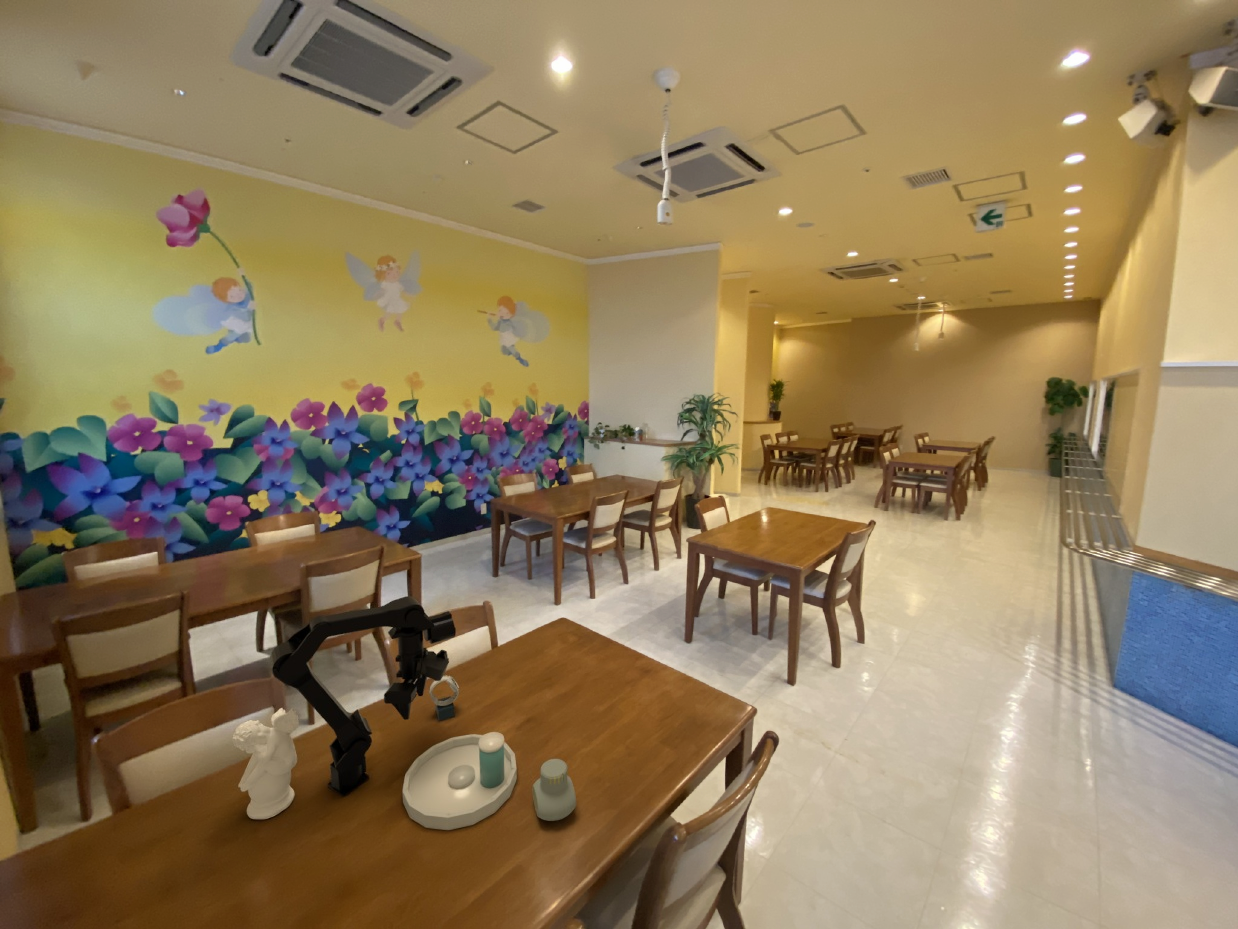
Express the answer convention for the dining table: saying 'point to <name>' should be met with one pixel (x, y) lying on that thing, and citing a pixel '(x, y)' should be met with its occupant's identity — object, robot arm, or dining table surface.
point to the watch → (445, 699)
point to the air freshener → (553, 791)
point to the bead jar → (491, 759)
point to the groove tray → (454, 785)
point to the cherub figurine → (268, 763)
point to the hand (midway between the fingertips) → (413, 707)
